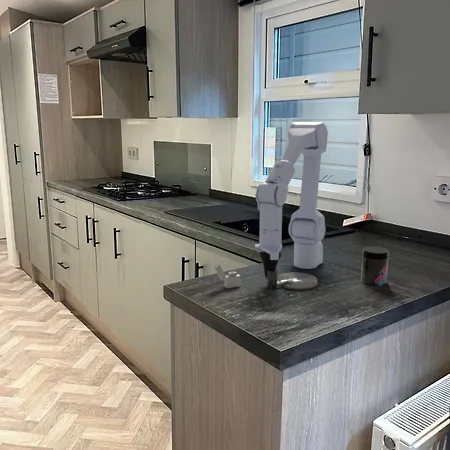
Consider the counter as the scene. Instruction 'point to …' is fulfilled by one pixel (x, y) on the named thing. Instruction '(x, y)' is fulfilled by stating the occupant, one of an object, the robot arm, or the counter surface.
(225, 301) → the counter surface
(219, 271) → the lighter
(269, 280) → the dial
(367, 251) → the supplement container
